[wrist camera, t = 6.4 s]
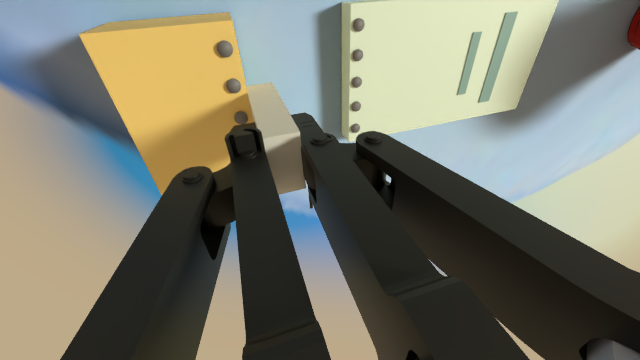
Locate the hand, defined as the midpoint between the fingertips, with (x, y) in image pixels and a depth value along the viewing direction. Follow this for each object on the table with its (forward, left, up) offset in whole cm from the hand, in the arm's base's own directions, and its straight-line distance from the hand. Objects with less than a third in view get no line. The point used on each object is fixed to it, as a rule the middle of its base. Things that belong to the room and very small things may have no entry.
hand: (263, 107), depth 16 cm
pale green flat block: (0, +14, -3) cm, 14 cm away
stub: (0, -4, -3) cm, 5 cm away
